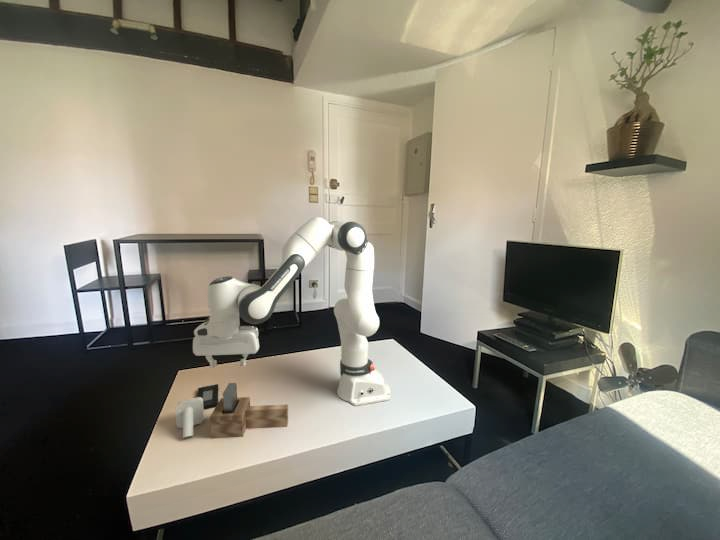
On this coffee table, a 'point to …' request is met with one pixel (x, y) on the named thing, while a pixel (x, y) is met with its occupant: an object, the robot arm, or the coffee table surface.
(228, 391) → the grey wood block
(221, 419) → the slotted wooden socket block
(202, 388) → the vhs tape
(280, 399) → the coffee table surface
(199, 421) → the wall hook
